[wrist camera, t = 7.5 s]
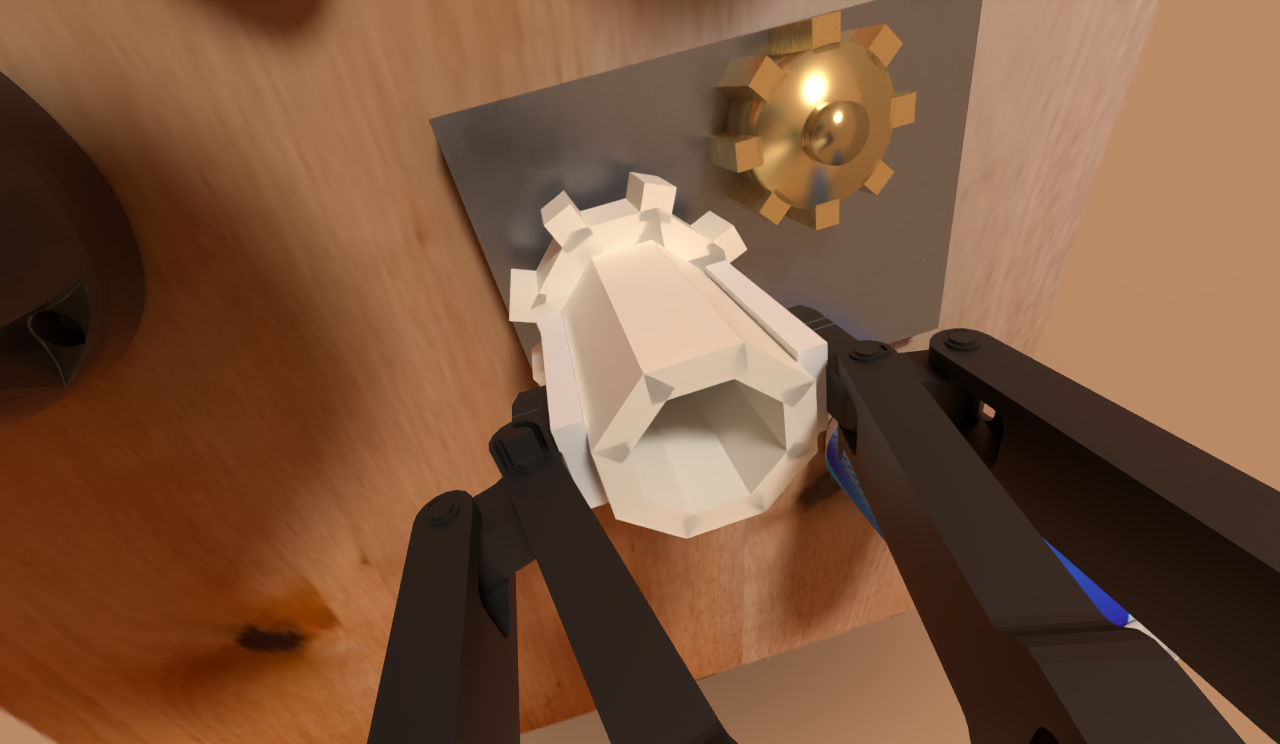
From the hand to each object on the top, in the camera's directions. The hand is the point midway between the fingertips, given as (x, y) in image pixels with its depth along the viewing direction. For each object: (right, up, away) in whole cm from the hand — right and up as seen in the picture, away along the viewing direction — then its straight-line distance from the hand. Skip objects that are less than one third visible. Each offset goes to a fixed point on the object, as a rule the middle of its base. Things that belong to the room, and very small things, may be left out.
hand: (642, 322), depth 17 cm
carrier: (+4, +5, +6) cm, 9 cm away
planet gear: (-1, +2, +3) cm, 3 cm away
